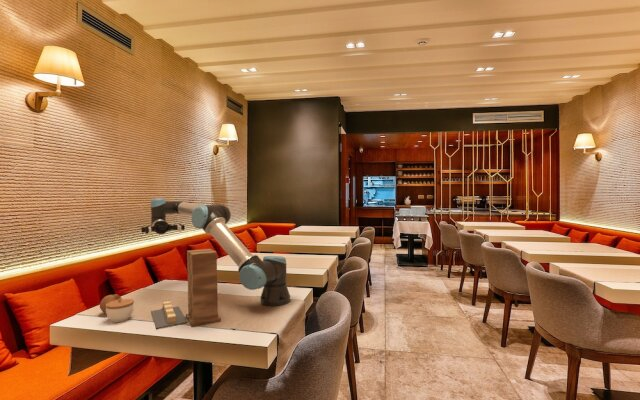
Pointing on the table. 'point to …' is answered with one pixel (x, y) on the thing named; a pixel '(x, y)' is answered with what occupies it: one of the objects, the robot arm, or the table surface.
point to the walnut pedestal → (202, 287)
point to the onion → (107, 300)
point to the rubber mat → (162, 321)
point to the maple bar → (169, 312)
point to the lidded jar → (119, 310)
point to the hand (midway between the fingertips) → (165, 229)
